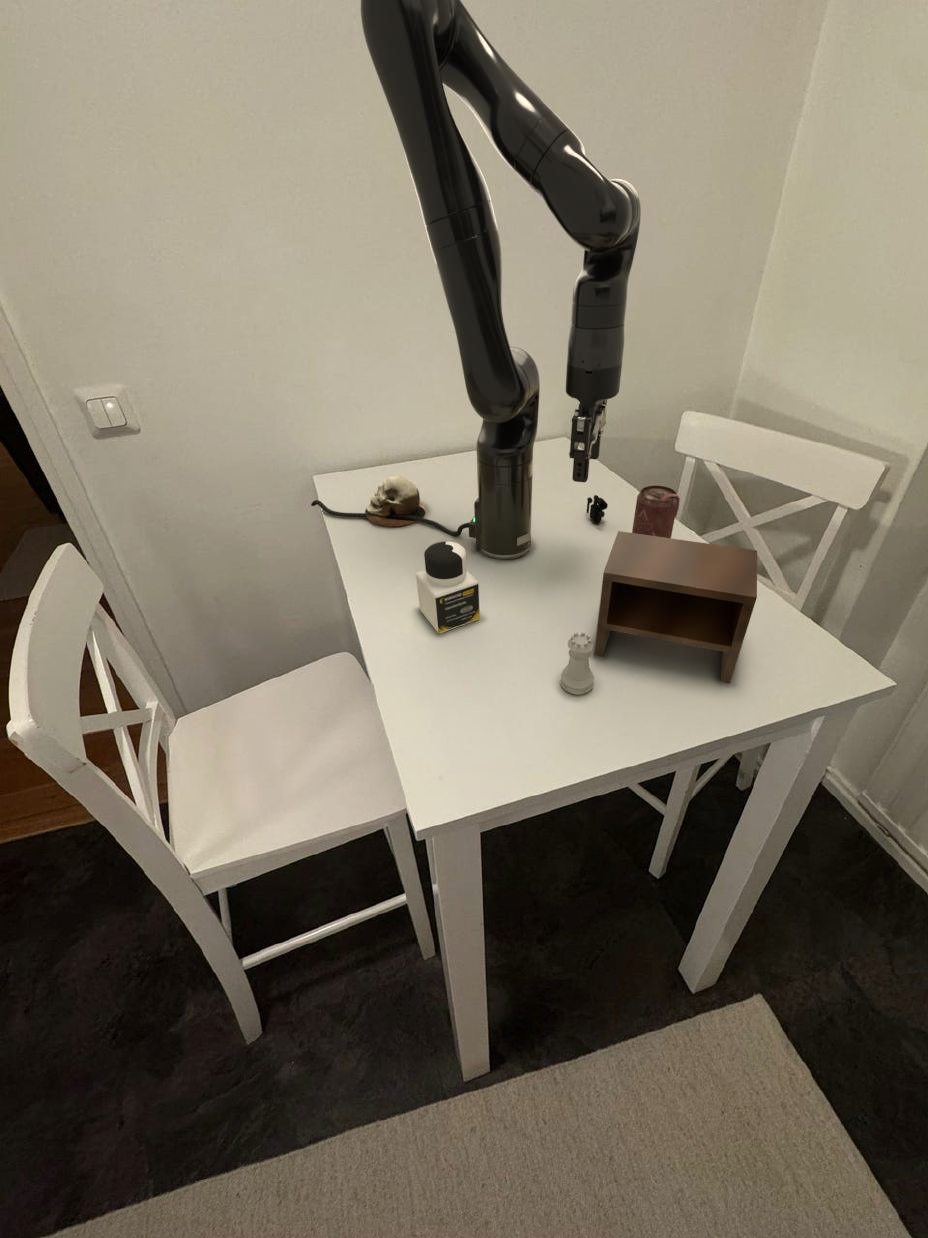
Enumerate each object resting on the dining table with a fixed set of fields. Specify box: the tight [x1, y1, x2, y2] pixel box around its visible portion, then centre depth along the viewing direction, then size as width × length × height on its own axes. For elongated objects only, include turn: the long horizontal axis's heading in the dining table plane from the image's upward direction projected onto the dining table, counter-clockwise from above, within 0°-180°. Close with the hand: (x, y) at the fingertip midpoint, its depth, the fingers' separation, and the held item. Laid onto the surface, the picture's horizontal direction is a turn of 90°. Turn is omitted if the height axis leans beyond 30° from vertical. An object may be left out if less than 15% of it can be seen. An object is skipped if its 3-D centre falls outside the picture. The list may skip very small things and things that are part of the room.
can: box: [631, 484, 681, 538], centre depth 97 cm, size 6×6×14 cm
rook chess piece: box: [559, 631, 595, 695], centre depth 78 cm, size 4×4×8 cm
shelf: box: [593, 530, 758, 684], centre depth 82 cm, size 18×11×14 cm, turn 69°
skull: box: [364, 475, 426, 527], centre depth 120 cm, size 12×10×10 cm
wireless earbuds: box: [585, 494, 609, 526], centre depth 114 cm, size 7×2×5 cm, turn 14°
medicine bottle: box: [415, 541, 481, 634], centre depth 90 cm, size 7×7×12 cm
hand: (585, 469), depth 93 cm, fingers open, 8 cm apart
